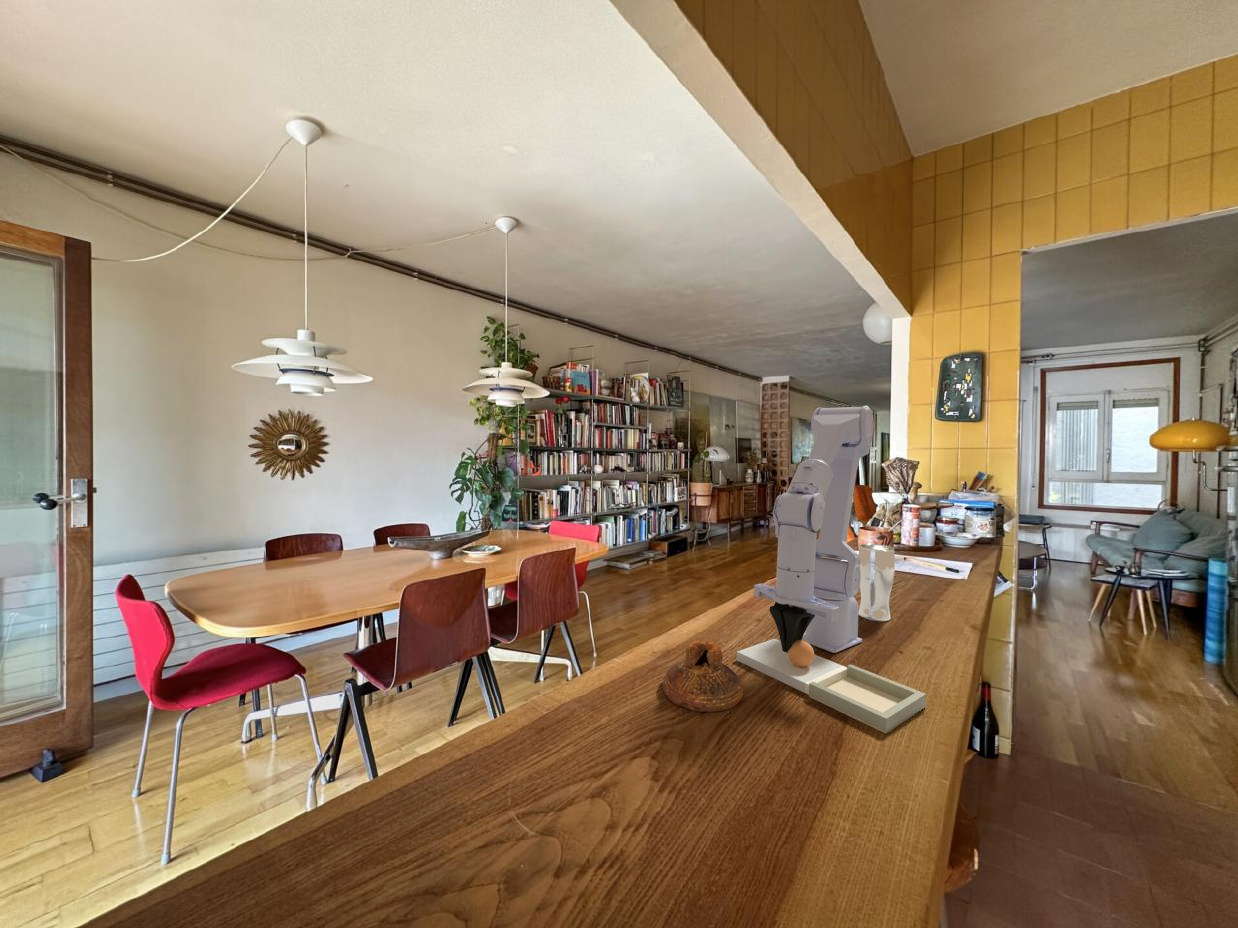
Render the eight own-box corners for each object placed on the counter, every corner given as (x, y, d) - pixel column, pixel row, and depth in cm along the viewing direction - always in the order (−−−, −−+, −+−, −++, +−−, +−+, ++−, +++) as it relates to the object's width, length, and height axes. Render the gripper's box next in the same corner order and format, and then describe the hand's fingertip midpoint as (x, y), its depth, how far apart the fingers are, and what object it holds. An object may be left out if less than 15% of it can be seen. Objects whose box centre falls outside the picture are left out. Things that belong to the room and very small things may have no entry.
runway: (774, 646, 89) (774, 638, 89) (848, 677, 78) (848, 668, 78) (736, 660, 83) (736, 651, 83) (810, 695, 72) (811, 685, 72)
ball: (799, 633, 81) (819, 642, 77) (800, 656, 81) (820, 666, 78) (781, 639, 79) (800, 649, 76) (782, 663, 80) (801, 674, 76)
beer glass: (899, 622, 102) (902, 550, 101) (865, 622, 102) (868, 550, 101) (882, 611, 109) (884, 543, 108) (850, 610, 109) (852, 543, 108)
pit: (850, 676, 78) (850, 664, 78) (925, 707, 69) (926, 693, 69) (808, 696, 72) (809, 683, 72) (885, 733, 63) (886, 718, 63)
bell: (758, 692, 73) (759, 644, 73) (711, 725, 65) (713, 670, 64) (693, 666, 81) (694, 623, 81) (645, 692, 73) (646, 643, 72)
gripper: (743, 560, 83) (739, 641, 83) (821, 581, 71) (816, 675, 71) (770, 557, 87) (766, 633, 87) (849, 576, 75) (844, 665, 75)
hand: (791, 651), depth 79 cm, fingers closed, pressing on ball
